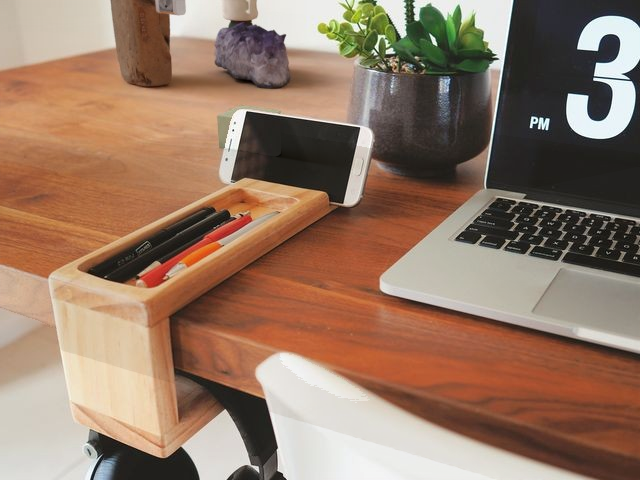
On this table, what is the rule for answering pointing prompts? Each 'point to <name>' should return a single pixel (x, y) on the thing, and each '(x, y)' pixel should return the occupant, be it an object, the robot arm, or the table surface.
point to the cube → (226, 117)
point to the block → (142, 42)
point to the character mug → (239, 11)
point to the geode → (253, 55)
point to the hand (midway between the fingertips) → (171, 13)
